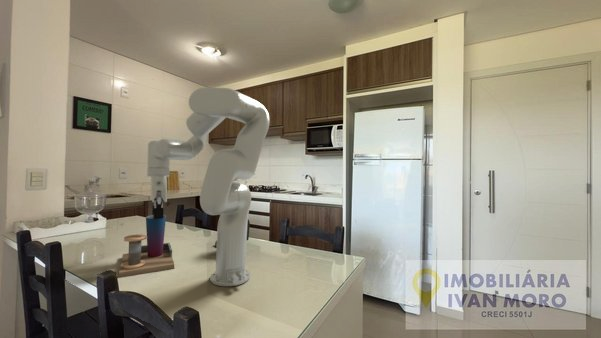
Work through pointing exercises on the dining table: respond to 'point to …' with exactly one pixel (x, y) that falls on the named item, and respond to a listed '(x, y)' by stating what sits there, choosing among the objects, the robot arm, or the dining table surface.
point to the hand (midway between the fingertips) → (157, 216)
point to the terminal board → (144, 258)
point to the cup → (155, 235)
